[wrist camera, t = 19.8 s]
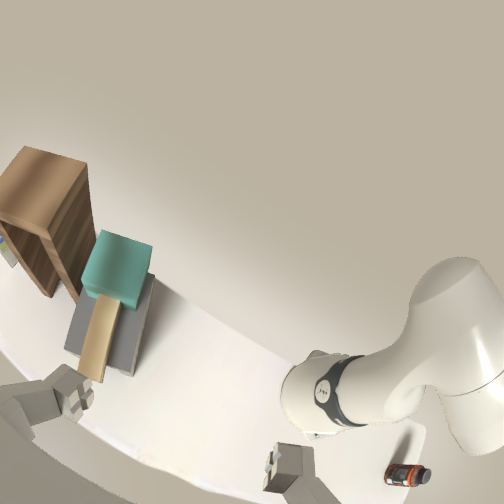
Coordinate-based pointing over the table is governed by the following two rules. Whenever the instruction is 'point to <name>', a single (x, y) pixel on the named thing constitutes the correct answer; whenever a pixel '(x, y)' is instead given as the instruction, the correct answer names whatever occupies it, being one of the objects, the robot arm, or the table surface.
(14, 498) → the robot arm
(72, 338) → the gray arch
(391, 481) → the supplement bottle
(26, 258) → the walnut arch
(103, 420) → the table surface
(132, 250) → the teal-headed mallet
